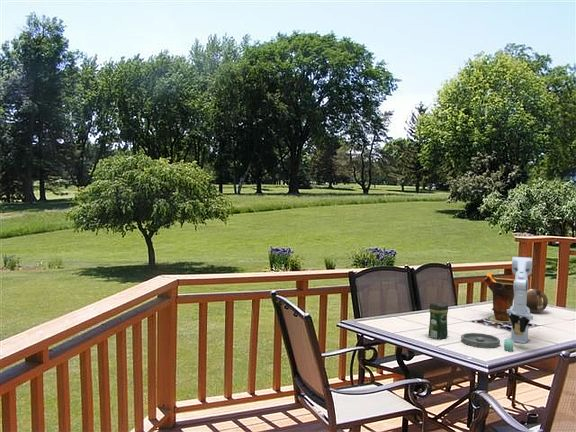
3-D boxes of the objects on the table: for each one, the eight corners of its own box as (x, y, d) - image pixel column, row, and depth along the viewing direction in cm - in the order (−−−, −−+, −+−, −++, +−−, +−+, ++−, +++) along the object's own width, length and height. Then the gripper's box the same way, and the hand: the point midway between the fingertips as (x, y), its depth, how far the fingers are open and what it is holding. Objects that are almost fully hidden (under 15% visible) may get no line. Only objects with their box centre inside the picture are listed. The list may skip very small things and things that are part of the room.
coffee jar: (437, 334, 284) (439, 299, 283) (449, 337, 278) (451, 302, 277) (425, 336, 279) (426, 301, 278) (437, 340, 272) (439, 304, 271)
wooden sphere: (520, 308, 350) (521, 286, 349) (545, 311, 345) (546, 288, 344) (522, 313, 336) (523, 290, 335) (548, 316, 331) (550, 292, 330)
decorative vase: (529, 324, 306) (528, 276, 305) (486, 324, 311) (486, 276, 310) (520, 316, 327) (520, 271, 326) (481, 316, 331) (480, 271, 330)
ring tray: (469, 335, 282) (469, 331, 282) (504, 342, 270) (504, 337, 270) (455, 342, 269) (455, 337, 268) (491, 350, 257) (491, 345, 257)
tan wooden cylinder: (515, 332, 265) (516, 322, 264) (524, 333, 262) (524, 323, 262) (513, 333, 262) (513, 323, 261) (521, 335, 259) (522, 325, 259)
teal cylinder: (505, 348, 260) (506, 338, 260) (514, 350, 258) (514, 340, 257) (502, 350, 257) (503, 340, 257) (511, 352, 255) (511, 342, 254)
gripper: (502, 301, 266) (501, 327, 267) (525, 307, 253) (524, 335, 254) (513, 300, 269) (512, 326, 270) (536, 306, 256) (535, 334, 256)
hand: (518, 330), depth 262 cm, fingers closed on tan wooden cylinder, 4 cm apart
